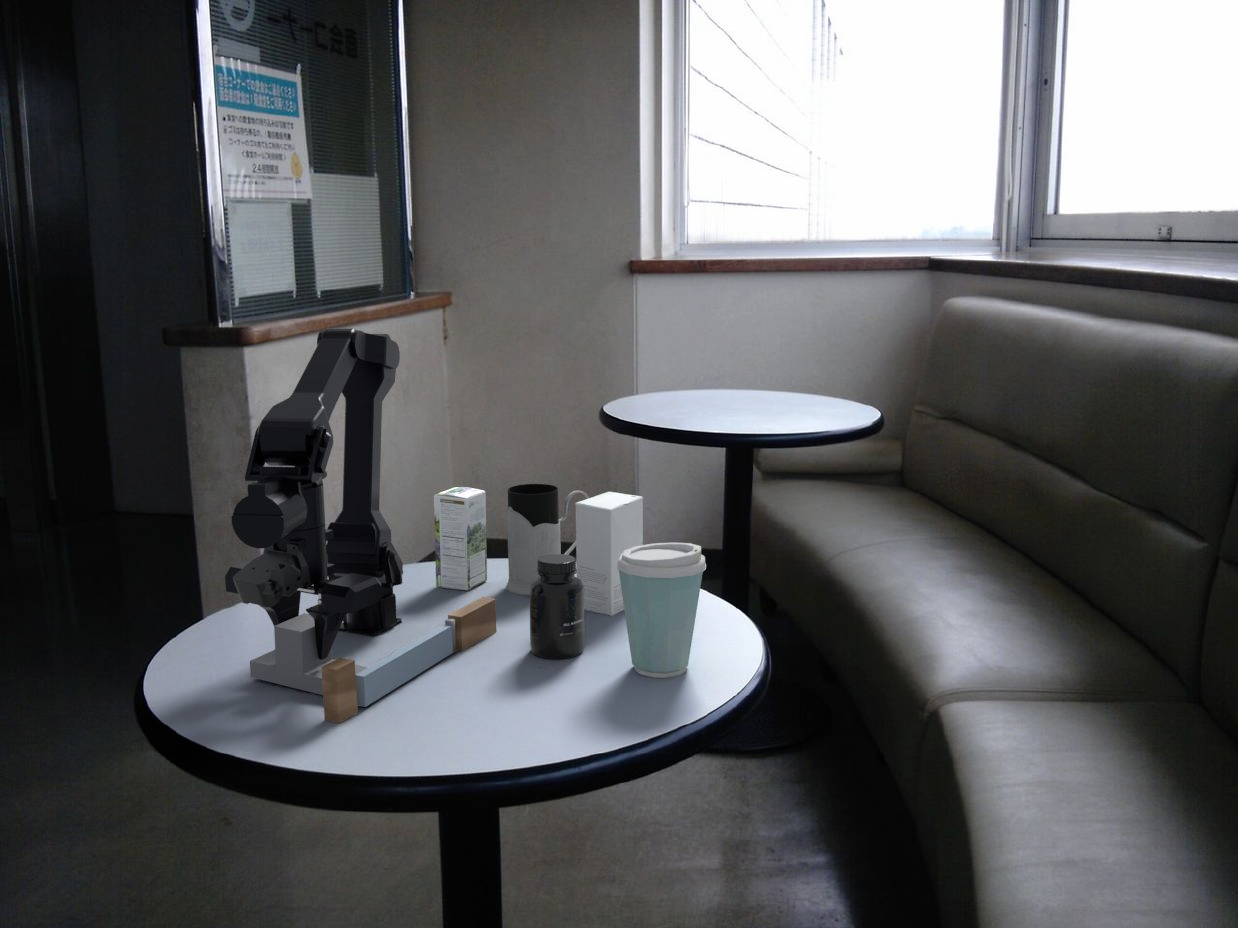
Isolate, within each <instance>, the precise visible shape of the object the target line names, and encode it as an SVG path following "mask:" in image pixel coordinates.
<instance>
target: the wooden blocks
mask: <svg viewBox="0 0 1238 928" xmlns="http://www.w3.org/2000/svg"><path fill="white" fill-rule="evenodd" d="M496 602H497V601H496V598H492V597H491V598H490V597H484V596H482V597H480V598H478V599H475V600H474V601H472V602H471V603H468V604H466V605H464V606H462V607H460V608H458V609H456V610H455V611H453V612H451V613H449V614H448V615H447V619H455V633H456V651H458V652H464V651H466V650H467V649H469V648H470V647H473V646H474V645H476V644H478V643H480V642H481V641H483V640H485V639H486V638H488V637H490V636H491V635H493V634H495V633H497V607H496ZM355 665H356V660H355V659H350V658H343V657H338V658H336V659H334V661H332V662H330V663H328V664H326V665H324V666H322V667H321V670H322V686H323V695H322V698H323V701H322V702H323V709H324V710H323V713H324V714H323V715H324V720H325V721H327V722H328V721H329V722H332V723H338V724H341V723H342V722H345V720H347V719H349V718H351V717H353V716H354V715H356V714H357V713H358V705H357V692H356V675H355Z"/></svg>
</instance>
